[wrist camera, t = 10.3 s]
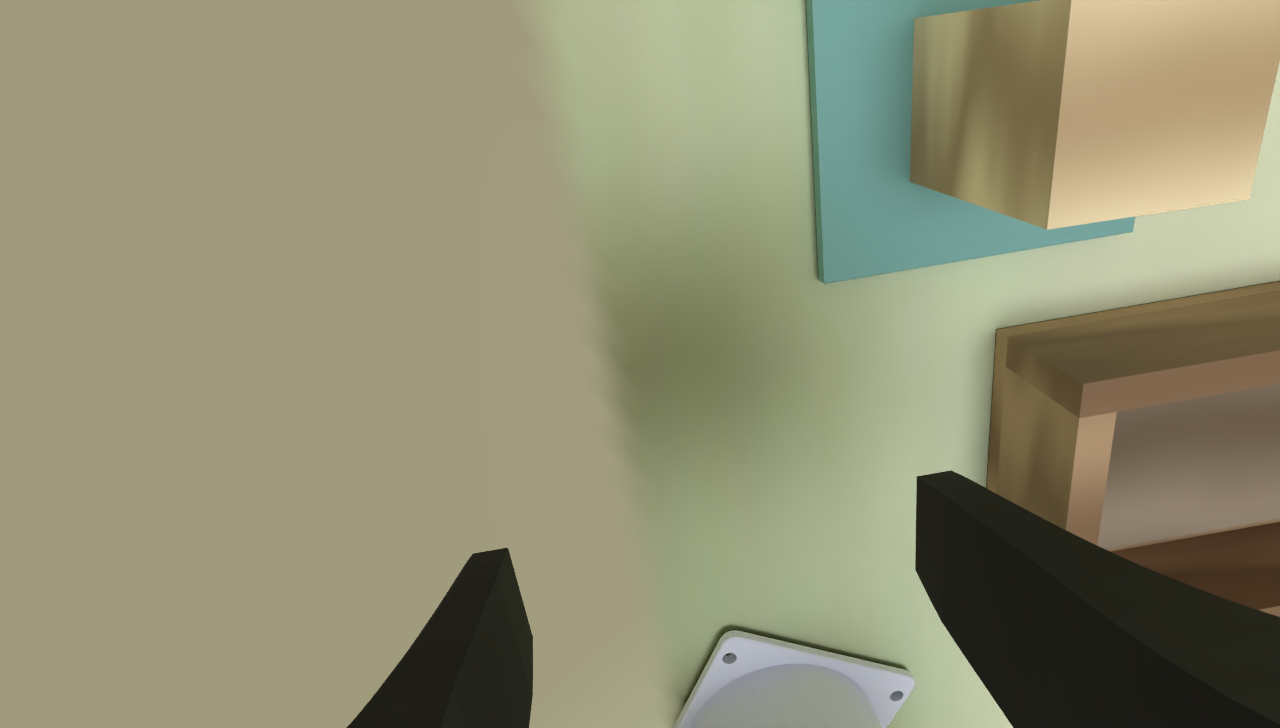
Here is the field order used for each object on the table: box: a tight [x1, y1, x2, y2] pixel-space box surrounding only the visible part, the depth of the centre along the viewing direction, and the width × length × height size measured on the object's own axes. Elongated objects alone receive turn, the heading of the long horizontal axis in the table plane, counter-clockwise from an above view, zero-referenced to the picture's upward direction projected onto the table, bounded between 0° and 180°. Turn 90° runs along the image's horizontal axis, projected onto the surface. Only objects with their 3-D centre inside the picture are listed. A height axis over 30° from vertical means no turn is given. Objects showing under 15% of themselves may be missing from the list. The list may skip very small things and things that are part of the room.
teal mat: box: [806, 0, 1135, 284], centre depth 18 cm, size 9×9×1 cm
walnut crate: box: [987, 281, 1280, 617], centre depth 22 cm, size 10×14×4 cm
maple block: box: [910, 0, 1280, 230], centre depth 15 cm, size 4×4×6 cm
